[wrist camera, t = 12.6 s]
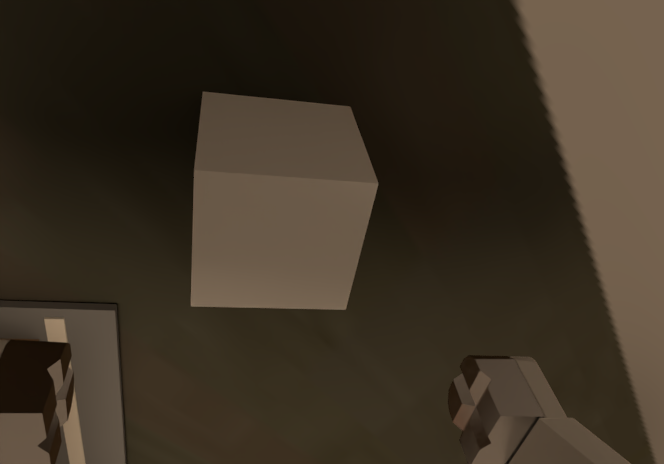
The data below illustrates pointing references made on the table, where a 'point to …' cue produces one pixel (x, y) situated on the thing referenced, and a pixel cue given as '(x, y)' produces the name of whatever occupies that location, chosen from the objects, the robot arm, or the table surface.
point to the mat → (80, 373)
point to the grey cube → (278, 203)
